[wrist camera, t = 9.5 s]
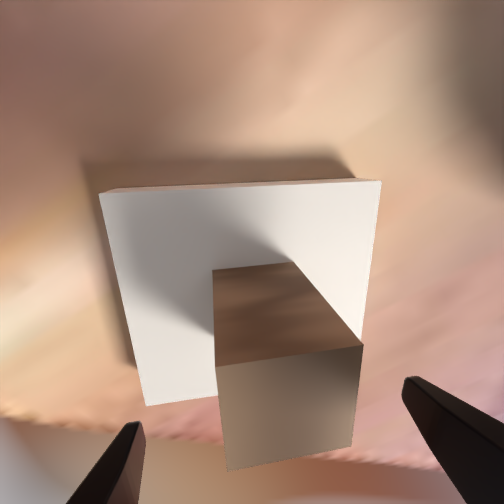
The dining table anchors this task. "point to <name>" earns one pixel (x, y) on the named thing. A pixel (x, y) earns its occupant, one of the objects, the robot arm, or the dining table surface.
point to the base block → (228, 262)
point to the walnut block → (281, 366)
